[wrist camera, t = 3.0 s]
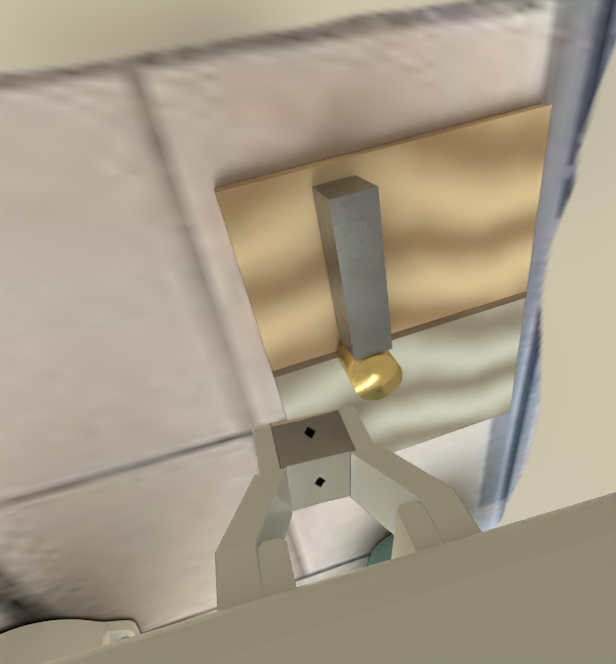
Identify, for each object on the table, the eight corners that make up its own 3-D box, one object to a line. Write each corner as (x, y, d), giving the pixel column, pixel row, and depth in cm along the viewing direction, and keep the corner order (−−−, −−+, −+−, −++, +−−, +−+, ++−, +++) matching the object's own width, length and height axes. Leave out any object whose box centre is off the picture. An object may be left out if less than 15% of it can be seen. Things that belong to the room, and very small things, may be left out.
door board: (502, 403, 41) (509, 411, 40) (304, 472, 39) (307, 482, 38) (538, 104, 26) (552, 104, 25) (214, 188, 24) (215, 192, 22)
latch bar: (382, 360, 32) (404, 391, 29) (340, 374, 32) (358, 406, 28) (361, 173, 24) (389, 186, 20) (305, 188, 23) (324, 204, 20)
